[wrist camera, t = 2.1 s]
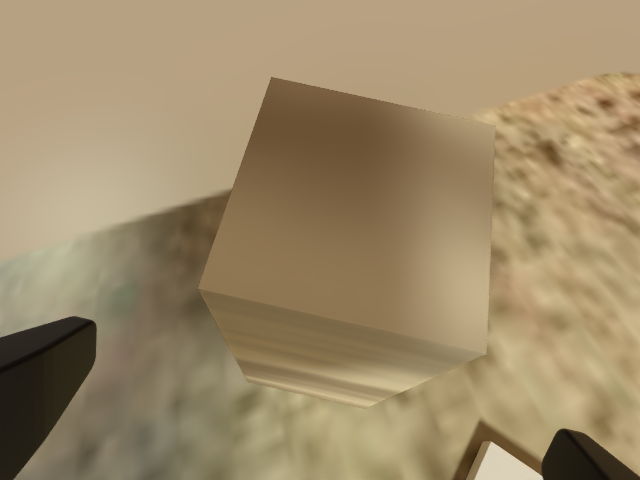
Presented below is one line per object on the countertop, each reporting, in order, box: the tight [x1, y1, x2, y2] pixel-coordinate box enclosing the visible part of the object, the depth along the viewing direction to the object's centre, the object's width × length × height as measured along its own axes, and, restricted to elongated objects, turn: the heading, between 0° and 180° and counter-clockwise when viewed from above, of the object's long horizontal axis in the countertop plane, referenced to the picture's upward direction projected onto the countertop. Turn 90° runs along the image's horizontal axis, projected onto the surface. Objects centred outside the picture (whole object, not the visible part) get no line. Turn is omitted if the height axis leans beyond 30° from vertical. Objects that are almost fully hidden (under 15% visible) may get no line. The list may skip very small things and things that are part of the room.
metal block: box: [198, 77, 496, 408], centre depth 14 cm, size 5×5×12 cm
